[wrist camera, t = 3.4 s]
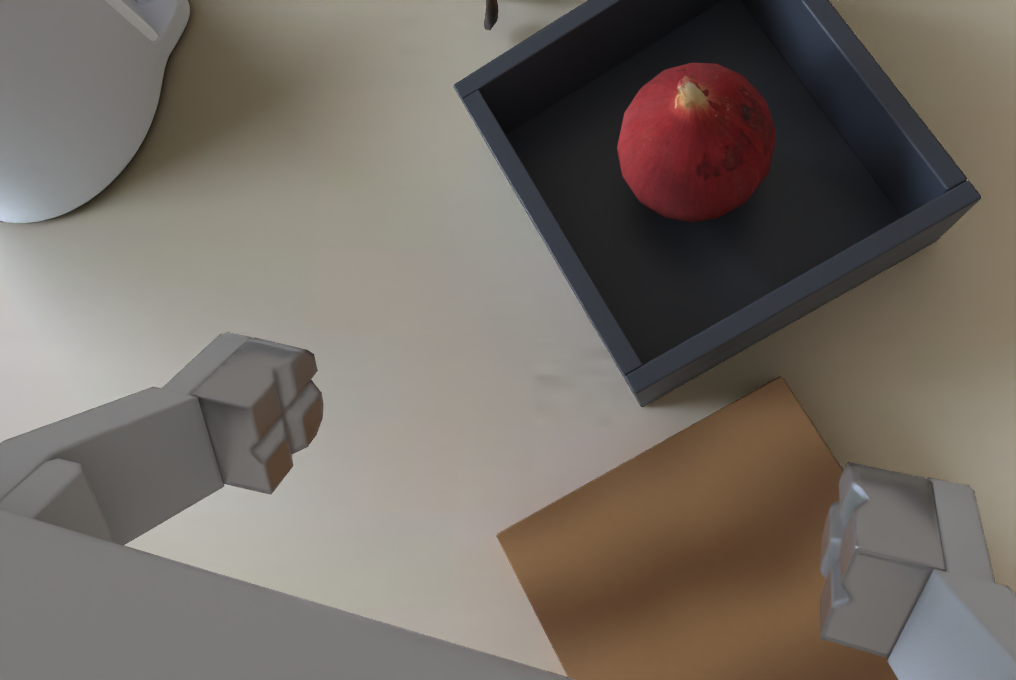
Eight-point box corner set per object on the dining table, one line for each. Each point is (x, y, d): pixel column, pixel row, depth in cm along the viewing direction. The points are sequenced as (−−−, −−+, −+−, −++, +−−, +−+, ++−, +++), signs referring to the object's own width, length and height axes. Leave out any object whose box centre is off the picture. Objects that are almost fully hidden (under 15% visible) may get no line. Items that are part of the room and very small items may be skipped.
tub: (482, 136, 37) (452, 84, 32) (740, -23, 35) (749, -103, 30) (641, 407, 33) (635, 394, 28) (937, 240, 32) (983, 197, 27)
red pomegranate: (775, 126, 33) (803, 18, 26) (750, 255, 32) (772, 184, 25) (638, 110, 35) (627, 3, 27) (612, 234, 34) (592, 160, 26)
